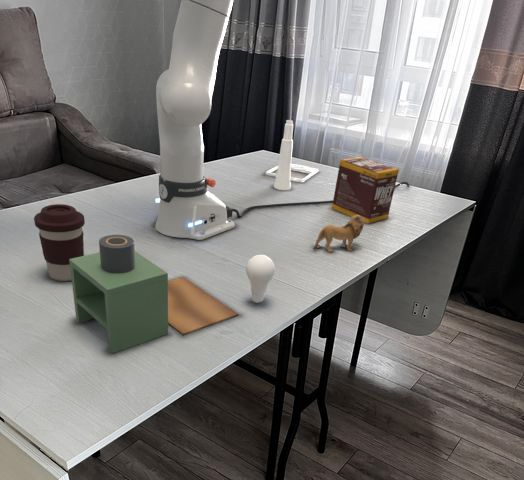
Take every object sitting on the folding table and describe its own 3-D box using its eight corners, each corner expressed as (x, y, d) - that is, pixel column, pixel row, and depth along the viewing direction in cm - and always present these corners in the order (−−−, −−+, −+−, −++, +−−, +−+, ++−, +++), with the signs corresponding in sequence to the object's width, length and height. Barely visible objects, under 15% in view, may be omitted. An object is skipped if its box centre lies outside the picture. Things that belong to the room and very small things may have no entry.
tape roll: (124, 256, 101) (123, 232, 99) (141, 268, 98) (140, 243, 95) (94, 263, 98) (92, 238, 95) (111, 276, 94) (109, 250, 91)
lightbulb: (242, 295, 120) (246, 249, 114) (269, 296, 121) (274, 250, 115) (244, 308, 115) (247, 261, 109) (272, 310, 116) (277, 263, 110)
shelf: (130, 303, 113) (127, 245, 105) (168, 333, 104) (167, 273, 97) (76, 320, 105) (69, 259, 98) (112, 353, 97) (107, 289, 90)
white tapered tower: (274, 184, 191) (281, 117, 178) (291, 186, 190) (299, 120, 178) (272, 189, 186) (279, 121, 173) (289, 191, 185) (298, 123, 173)
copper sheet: (182, 278, 124) (182, 276, 124) (238, 315, 113) (238, 313, 112) (129, 293, 116) (129, 292, 116) (182, 335, 104) (182, 333, 104)
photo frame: (318, 168, 208) (302, 179, 194) (318, 171, 209) (302, 182, 195) (283, 161, 212) (265, 171, 198) (283, 164, 213) (265, 174, 199)
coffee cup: (64, 289, 115) (55, 221, 107) (32, 275, 119) (22, 209, 111) (99, 274, 122) (93, 209, 114) (68, 261, 126) (60, 198, 118)
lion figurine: (353, 242, 152) (359, 211, 147) (363, 250, 148) (370, 218, 143) (308, 247, 146) (312, 215, 141) (318, 255, 142) (323, 222, 137)
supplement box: (368, 224, 165) (378, 173, 157) (331, 208, 174) (339, 159, 166) (388, 218, 171) (400, 168, 163) (352, 203, 180) (361, 155, 172)
